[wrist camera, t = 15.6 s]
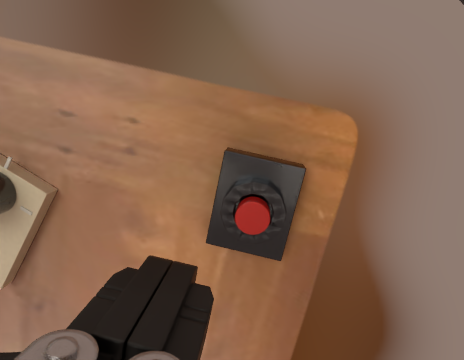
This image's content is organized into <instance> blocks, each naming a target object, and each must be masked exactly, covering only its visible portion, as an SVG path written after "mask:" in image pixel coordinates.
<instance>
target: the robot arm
mask: <svg viewBox="0 0 464 360" xmlns="http://www.w3.org/2000/svg"><path fill="white" fill-rule="evenodd" d="M197 269H198V267H197V266H193V265H189V264H185V263H181V262H177V261H174V262H173V261H172V260H168V259H164V258H160V257H155V256H151V255H149V256H148V257H147V259H146V260H145V261H144V263H143V264H142V265H141V267H140V268H139V269H134V268H129V267H127V268H125V269H123V270H121V271H119V272H117V273H115V274H113V276H112V277H111V278H110V279H109V280H108V281H107V283H106V284H105V285H104V287H102V288H101V289H100V291H99V292H98V293H97V294H96V297H95V296H94V297H93V299H92V300H91V301H90V302H89V303H88V304H87V306H86V307H85V308H84V309H83V310H82V311H81V312H80V314H79V315H78V316H77V317H76V318H75V319H74V320H73V322H72V323H71V324H70V325H69V326H68V327H67V329H64V330H58V331H53V332H50V333H47V334H45V335H43V336H41V337H39V338H38V339H36V340H35V341H34V342H32V343H31V344H30V345H29V346H28V347H27V348H26V349H25V350H24V351H22V352H12V353H0V360H200V357H201V354H202V350H203V346H204V342H205V338H206V333H207V329H208V324H209V319H210V315H211V310H212V305H213V301H214V298H213V295H212V292H211V289H210V287H208V286H204V285H200V284H196V283H195V281H196V275H197Z"/></svg>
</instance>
